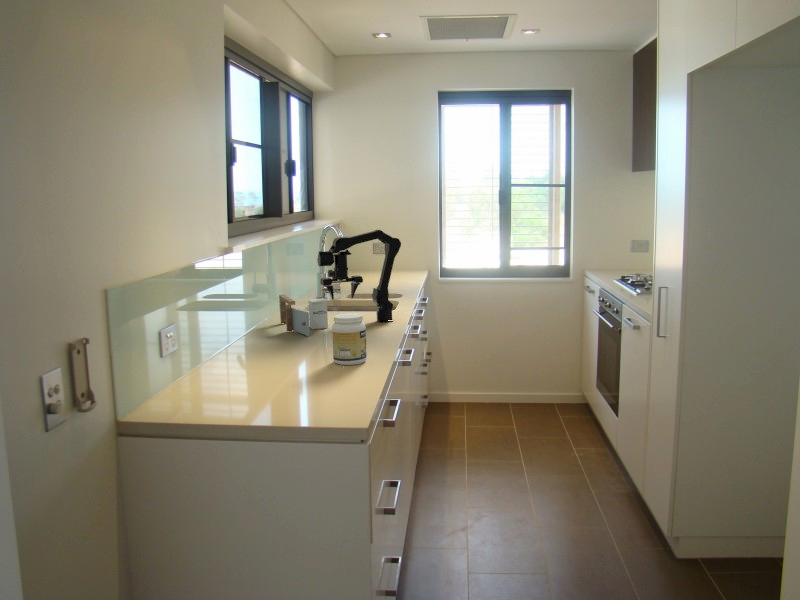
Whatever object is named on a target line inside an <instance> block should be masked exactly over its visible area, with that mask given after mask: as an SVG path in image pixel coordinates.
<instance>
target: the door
mask: <svg viewBox="0 0 800 600" xmlns="http://www.w3.org/2000/svg"><path fill="white" fill-rule="evenodd" d="M291 313H292V331H294V332H297V333H299V334H302V335H305V336H306V337H309V336H311V332H310V321H309V311H305V310H303V309H299V308H296V307H291Z"/></svg>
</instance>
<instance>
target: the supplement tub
mask: <svg viewBox="0 0 800 600" xmlns="http://www.w3.org/2000/svg"><path fill="white" fill-rule="evenodd" d="M363 317H364V315H363V314H361V313H355V312H354V313H341V314H339V313H338V314H336V315H333V322H334V323H333V324H332V325H331V335H332V355H333V356H332V359H333V362H334V363H335V364H337V365H341V366H354V365H359V364H363V363H365V362H366V361H367V359H368V358H367V356H368V354H367V335H366V334H367V333H366V332H367V330H366V324H365V322H364V318H363Z"/></svg>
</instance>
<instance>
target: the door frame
mask: <svg viewBox="0 0 800 600" xmlns="http://www.w3.org/2000/svg"><path fill="white" fill-rule="evenodd" d="M278 299H279V301H278V302H279V314H280V315H279V316H280V324H281V323H286V324H285V325H286V332H287V331H293V330H292V313H291V308H292V306H294V305H296V300H294V299H292V298H291V297H289V296H287V295H285V294H279V295H278Z"/></svg>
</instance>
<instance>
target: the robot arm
mask: <svg viewBox="0 0 800 600" xmlns="http://www.w3.org/2000/svg"><path fill="white" fill-rule="evenodd" d="M374 240H378V241H380V243H382V244H384V255H385V256H384V258H383V259H384V261H383V264H382V268H381V272H380V273H381V274H380V277H379V282H378V285H377V287H376V288H374V287H373V289H372V294H371V297H372V302H373V303H374V304H376V307H377V311H376V321H378V322H379V321H388V320H393V308H394V304H393V303H392V302H391V301H390V300H389V295H390V293H389V284H390V280H391V276H392V271H393V268H394V261H395V259H396V256H397V255H398V253H399V251H400V249H401V246H402V242H401V239H399V238H397V237H392V236H391V235H390V234H387V233H385V232H384V231H382V230H381V229H375V230H371V231H369V232H364V233H360V234H357V235H352V236H338V237H335V238H333V241H332V245H331V246H330V248H329V250H328V251H326V250H325V251H321V250H320V251H318V254H317V259H316V261H317V266H318V267H332V266H333V265H334V267H333V269H328V270H327V277H322V278H321V279H319V284H320V285H321V286H323V287H325V288H326V289H327V291H328V293H329V295H330V298H331V300H332V301H334V298H335V297H334V286H333V285H332V284H337V283H350V296H351V297H350V298H351V299H354V297H355V293H356V291H357V289H358V286H359V285H361V283H364V279H363V276H361V275H351V276H350V277H349V273H348V272H349V271H348V270H349V267H348V256H351V255H352V253H351V252H350V250H349V249H350V248H352V247H353V246H355V245H359V244H362V243H366V242H370V241H374Z"/></svg>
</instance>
